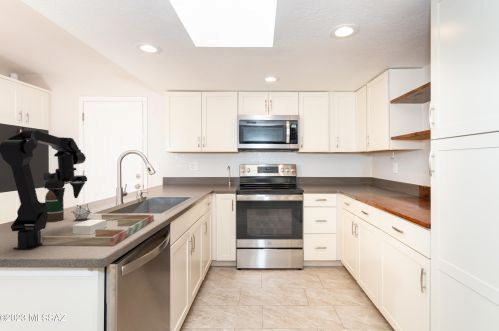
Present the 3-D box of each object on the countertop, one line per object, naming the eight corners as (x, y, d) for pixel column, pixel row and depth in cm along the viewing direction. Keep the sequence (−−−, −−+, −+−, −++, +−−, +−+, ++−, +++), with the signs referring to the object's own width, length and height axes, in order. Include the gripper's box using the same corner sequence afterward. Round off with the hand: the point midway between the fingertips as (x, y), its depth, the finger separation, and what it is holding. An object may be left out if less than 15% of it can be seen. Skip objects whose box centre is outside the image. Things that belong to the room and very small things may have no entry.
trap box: (113, 245, 99) (112, 237, 99) (41, 244, 100) (41, 237, 100) (153, 220, 139) (153, 214, 139) (102, 219, 140) (102, 214, 140)
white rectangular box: (90, 235, 114) (90, 225, 114) (72, 234, 115) (72, 225, 114) (106, 228, 125) (106, 219, 125) (90, 227, 126) (90, 219, 125)
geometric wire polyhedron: (82, 227, 139) (79, 214, 133) (69, 221, 140) (65, 208, 134) (96, 216, 146) (93, 203, 140) (84, 210, 147) (80, 197, 141)
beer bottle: (47, 219, 140) (46, 174, 139) (65, 218, 144) (64, 173, 143) (43, 222, 133) (42, 175, 132) (62, 221, 136) (61, 174, 136)
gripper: (64, 163, 128) (67, 195, 130) (30, 168, 109) (33, 205, 111) (86, 163, 127) (88, 196, 129) (56, 168, 109) (58, 206, 110)
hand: (68, 200), depth 120 cm, fingers open, 9 cm apart
